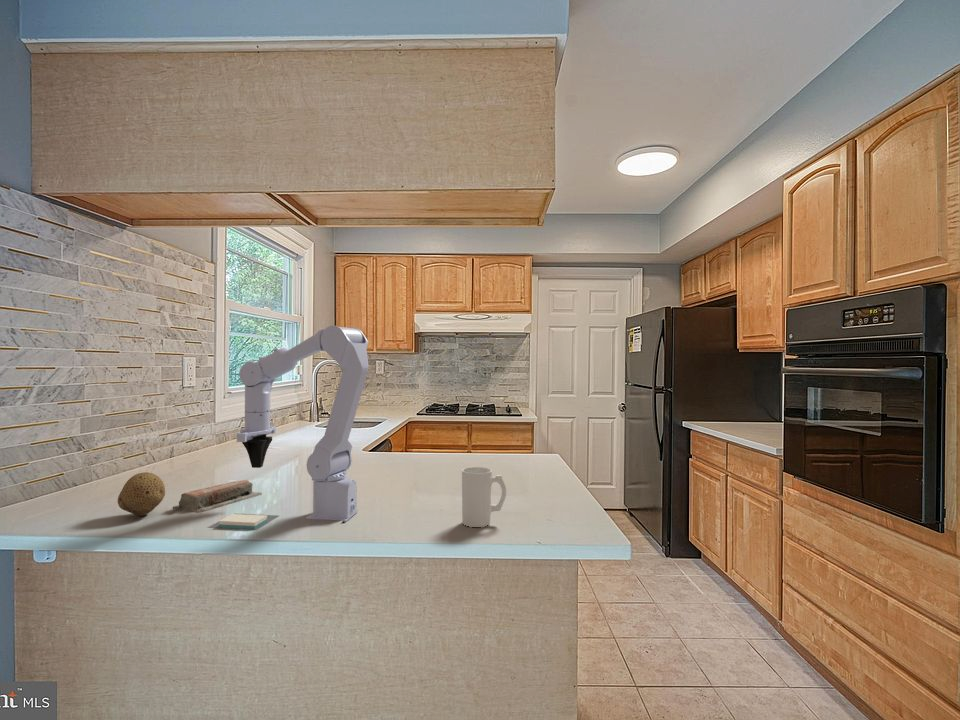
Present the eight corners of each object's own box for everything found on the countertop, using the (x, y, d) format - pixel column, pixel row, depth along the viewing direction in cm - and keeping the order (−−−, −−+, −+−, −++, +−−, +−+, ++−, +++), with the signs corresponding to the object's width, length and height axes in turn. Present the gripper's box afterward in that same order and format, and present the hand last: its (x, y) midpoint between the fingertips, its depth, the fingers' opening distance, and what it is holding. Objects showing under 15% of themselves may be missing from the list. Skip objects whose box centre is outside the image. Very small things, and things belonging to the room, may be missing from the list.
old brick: (200, 496, 122) (172, 491, 126) (200, 517, 122) (172, 511, 126) (262, 480, 138) (235, 476, 142) (262, 498, 138) (235, 494, 142)
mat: (279, 518, 120) (279, 515, 120) (256, 532, 110) (256, 529, 110) (234, 516, 122) (234, 513, 122) (207, 530, 112) (207, 527, 112)
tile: (267, 515, 116) (254, 522, 111) (267, 521, 116) (254, 529, 111) (232, 513, 117) (219, 520, 112) (232, 520, 117) (219, 527, 112)
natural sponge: (171, 515, 121) (172, 472, 121) (127, 524, 115) (127, 479, 114) (157, 508, 127) (157, 466, 127) (113, 516, 120) (114, 472, 120)
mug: (461, 528, 114) (461, 473, 114) (461, 519, 121) (461, 466, 121) (507, 528, 115) (507, 473, 115) (504, 518, 122) (505, 467, 122)
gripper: (257, 408, 136) (257, 460, 136) (224, 414, 121) (224, 473, 122) (283, 408, 135) (283, 461, 135) (253, 414, 121) (252, 474, 121)
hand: (257, 467), depth 128 cm, fingers closed
